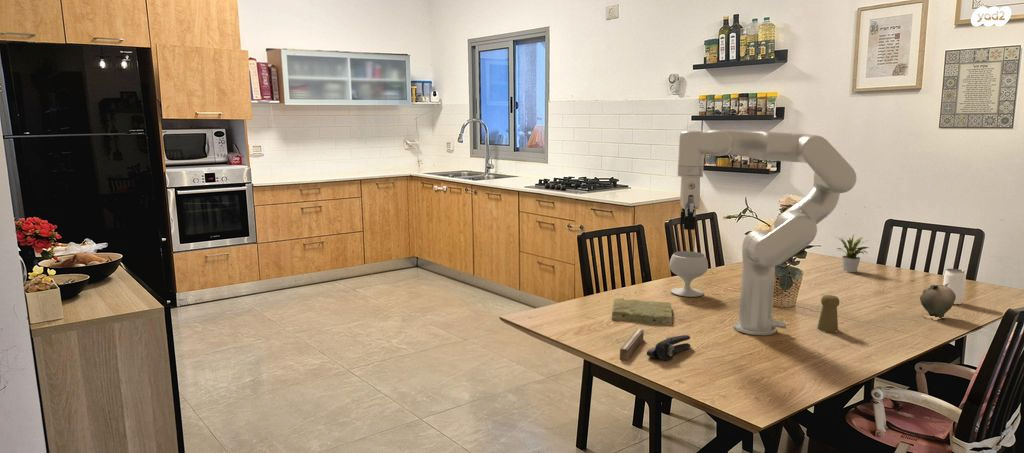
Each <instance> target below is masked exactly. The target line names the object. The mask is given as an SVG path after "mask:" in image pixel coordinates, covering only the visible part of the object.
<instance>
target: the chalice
mask: <svg viewBox="0 0 1024 453" xmlns="http://www.w3.org/2000/svg"><path fill="white" fill-rule="evenodd" d="M707 258H708V257H707V256H706V255H705V254H704V253H701V252H696V251H689V250H683V251H682V250H681V251H675V252H673V254H672V255H671V258H670V259H669V263H668V264H669V269H670V271H671V272H672V273H673V274H675V275H676V276H678V277H679V278H680V279H682V280H683V282H684V287H675V288H672V289H671V290H670V292H671V294H673V295H676V296H679V297H685V298H686V297H687V298H693V297H694V298H695V297H696V298H697V297H702V296H704V294H705V293H704V291H702V290H700V289H697V288H693V287H691V283H692V282H693V280H695V279H697V278H699V277H701V276H703V275H705V274H706V273H707V271H708V269H709V264H708V259H707Z"/></svg>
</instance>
